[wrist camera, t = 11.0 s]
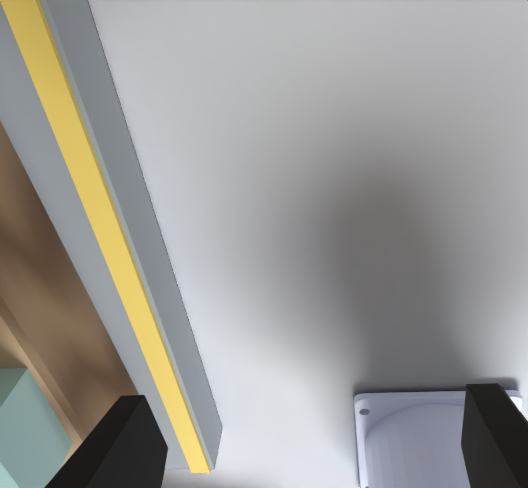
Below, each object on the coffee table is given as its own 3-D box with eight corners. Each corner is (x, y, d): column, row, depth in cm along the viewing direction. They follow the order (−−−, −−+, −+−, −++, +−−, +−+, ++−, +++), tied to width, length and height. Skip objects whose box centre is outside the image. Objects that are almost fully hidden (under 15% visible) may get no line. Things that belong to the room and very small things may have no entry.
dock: (222, 428, 26) (213, 473, 24) (48, 430, 28) (24, 472, 26) (-37, -392, 11) (-133, -484, 8) (-395, -268, 12) (-555, -317, 10)
